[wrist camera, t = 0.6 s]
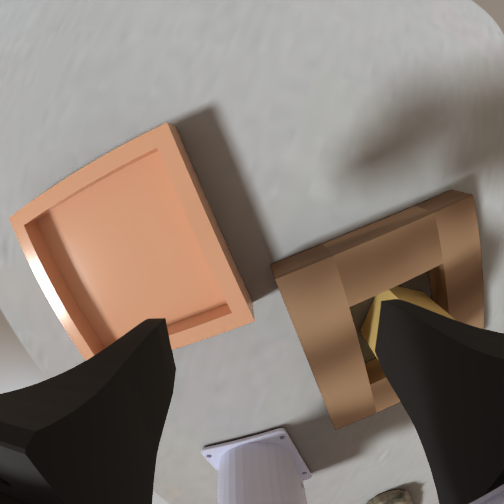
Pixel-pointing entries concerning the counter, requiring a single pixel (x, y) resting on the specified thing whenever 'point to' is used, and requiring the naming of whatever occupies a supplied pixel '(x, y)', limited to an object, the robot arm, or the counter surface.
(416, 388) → the robot arm
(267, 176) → the counter surface
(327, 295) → the socket block
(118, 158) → the tray
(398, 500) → the long grey stone
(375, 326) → the peg
